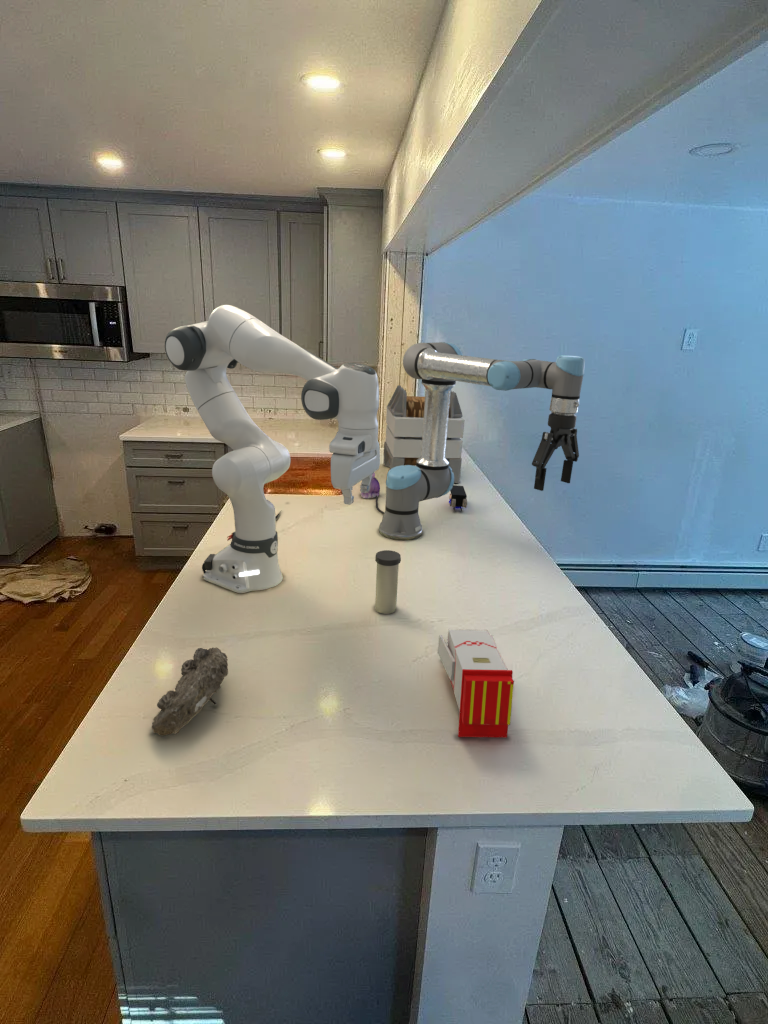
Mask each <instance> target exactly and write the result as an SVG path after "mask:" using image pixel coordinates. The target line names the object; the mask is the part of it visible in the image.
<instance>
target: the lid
mask: <svg viewBox="0 0 768 1024" xmlns="http://www.w3.org/2000/svg"><path fill="white" fill-rule="evenodd" d="M401 555H402V554H400V552H398V551H395V550H390V549H389V550H387V549H386V550H385V549H384V550H380V551H377V552H376V553H375V557H374V558H375V563H376V564H377V563H378V564H380V565H384V566H395V565H398V564H399V565H400V563H401V561H402V557H401Z"/></svg>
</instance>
